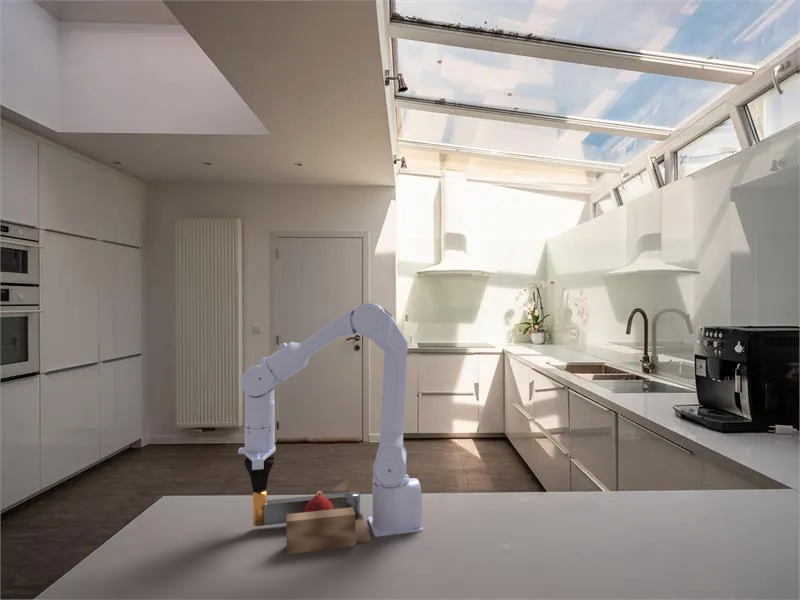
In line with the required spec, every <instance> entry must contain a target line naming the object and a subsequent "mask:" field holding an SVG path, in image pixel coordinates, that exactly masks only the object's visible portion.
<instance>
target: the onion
mask: <svg viewBox="0 0 800 600" xmlns="http://www.w3.org/2000/svg"><path fill="white" fill-rule="evenodd" d="M323 495H324V492H322V491H321V490H319V491H317V492H316V494H315V495H314V496H315V497H314V498H312V499H311V500H310V501H309V502H308V503H307V505H306V507H305V510H304V512H313V511H322V510H332V509H334V507H333V505H332V503H331V502H330V501H329V500H328V499H327V498H325V497H323Z"/></svg>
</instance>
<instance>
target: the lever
mask: <svg viewBox="0 0 800 600" xmlns="http://www.w3.org/2000/svg"><path fill="white" fill-rule="evenodd" d="M322 495H323V497H325V498H327V499H328V500H329V501H330V502H331V503H332V505H333V507H334V509H341V508H351V507H353V509H354V511H355V517H357V516H359V515H360V511H361V493H360V491H356V490H350V491H346V492H343V493H342V492H341V493H330V494H322ZM314 497H315V495H308V496H298V497H289V498H287V497H286V498H279V499H278V498H275V499H268V490H267V489H266V490H263V489H261V490H256V491H254V492H253V491H252V525H253V526H255V527H262V526H271V525H282V524H287V514H294V513H303V512H304V510H305V507H306V505H307V503H308V502H309V501H310V500H311V499H312V498H314Z"/></svg>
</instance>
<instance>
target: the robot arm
mask: <svg viewBox="0 0 800 600" xmlns="http://www.w3.org/2000/svg"><path fill="white" fill-rule="evenodd" d="M356 334H360V335H361V336H363V337H365V338H367V339H368V340H371V341H372V342H373V343H375V345H376V346H378V348H380V350H382V352H383V354H384V357H383V358H384V359H383V375H382V376H383V377H382V378H383V379H382V395H381V396H382V398H381V416H380V434H379V435H380V436H379V444H378V448H377V451H376V456H375V461H374V462H373V465H372V473H373V476H372V515H371V516H370V515H369V516H368V517H367V520H368V523H369V526H370V528H371V532H372V533H373V536H374V537H377V538H378V537H385V536H386V537H387V536H394V535H402V534H410V533H419V532H423V531H424V528H423V496H422V495H423V494H422V490H421V489H422V487H421V484H420V481H419V479H418V478H415V477H413V478H412V477H410V476H409V475H408V474H407V459H408V453H407V452H408V451H407V449H406V448H405V445H404V427H405V408H406V407H405V404H406V389H407V388H406V383H407V369H408V367H407V366H408V339H406V336H405V335H404V333H403V331H402V330H401V328H400V326H399V325H398V324H397V322H396V320H395V318H394V317H393V314H391V312H389V311H388V310H387V309H385V307H383V306H382V305H380V304H379V303H372V302H367V303H366V302H365V303H362V304H360V305H358V306H357V308H356V309H351V310H349V311H347V312H345V313H342V314H341V315H339V316H337V317H335V318H334V319H333V320H331V321H330V322H328V323H326V325H324V326H323V327H322V328H320V329H319V330H317V331H316V332H314V333H313V334H312V335H311V336H308V337H307V338H306V339H305V340H303V341H302V342H300V343H299V342H295V341H290V342H288V343H287V342H284V343H281V344H280V345H279V346H278V348H279V349H278V350H276V351H275V352H273V353H272V354H271V355H269V356H267V357H262V358H260V360H259V364H258V365H253V366H249V367H248V369H246V370H245V371H244V373H243V374H242V375H241V379H240V387H241V389H242V390H243V392H244V393H245V395H244V396H245V397H244V398H245V399H244V401H245V403H244V447H239V448H238V450H237V451H238V452H237V453H238V455H239V454H240V455H245V456H246V457H245V459H244V468H245V469H246V470H247V472H248V475H249V478H250V484H251V487H252V488H251V489H252V493H253V492H254V491H256V490H261V489H263V490H266V491H267V487H268V480H269V475H270V473H271V470H272V468H273V466H274V463H275V452H276V443H275V442H276V441H275V440H276V439H275V437H276V436H275V435H276V431H275V430H276V426H275V425H276V424H275V422H276V421H275V420H276V419H275V418H276V414H275V413H276V408H275V407H276V404H275V403H276V402H275V388H277V386H278V384H281V383H283V382H285V381H286V380H288V379H289V378H291V377H292V376H294V375H295V374H297V373H298V372H299V371H302V370H303V369H304V368H306V367H307V366H308V364H309V358H310V356H312V355H314V354H315V353H317V352H318V351H320V350H322V349H323V348H324V347H326V346H327V345H329V344H331V343H332V342H334V341H335V340H337V339H339V338H341V337H343V336H354V335H356Z"/></svg>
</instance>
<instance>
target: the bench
mask: <svg viewBox="0 0 800 600" xmlns="http://www.w3.org/2000/svg"><path fill="white" fill-rule="evenodd" d="M369 532H370V531H369V530H368V527H367V525H366V521H365V520H364V516H363V513H362V511H361V510H360V515H359V516H357V517H355V511H354V509H353V507H351V508H341V509H332V510H322V511H313V512H303V513H294V514H287V523H286V555H291V554H298V553H299V554H300V553H309V552H315V551H316V552H317V551H323V550H332V549H340V548H341V549H342V548H349V547H356V545H357V544H362V543H372V538H371V535H370V533H369Z"/></svg>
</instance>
